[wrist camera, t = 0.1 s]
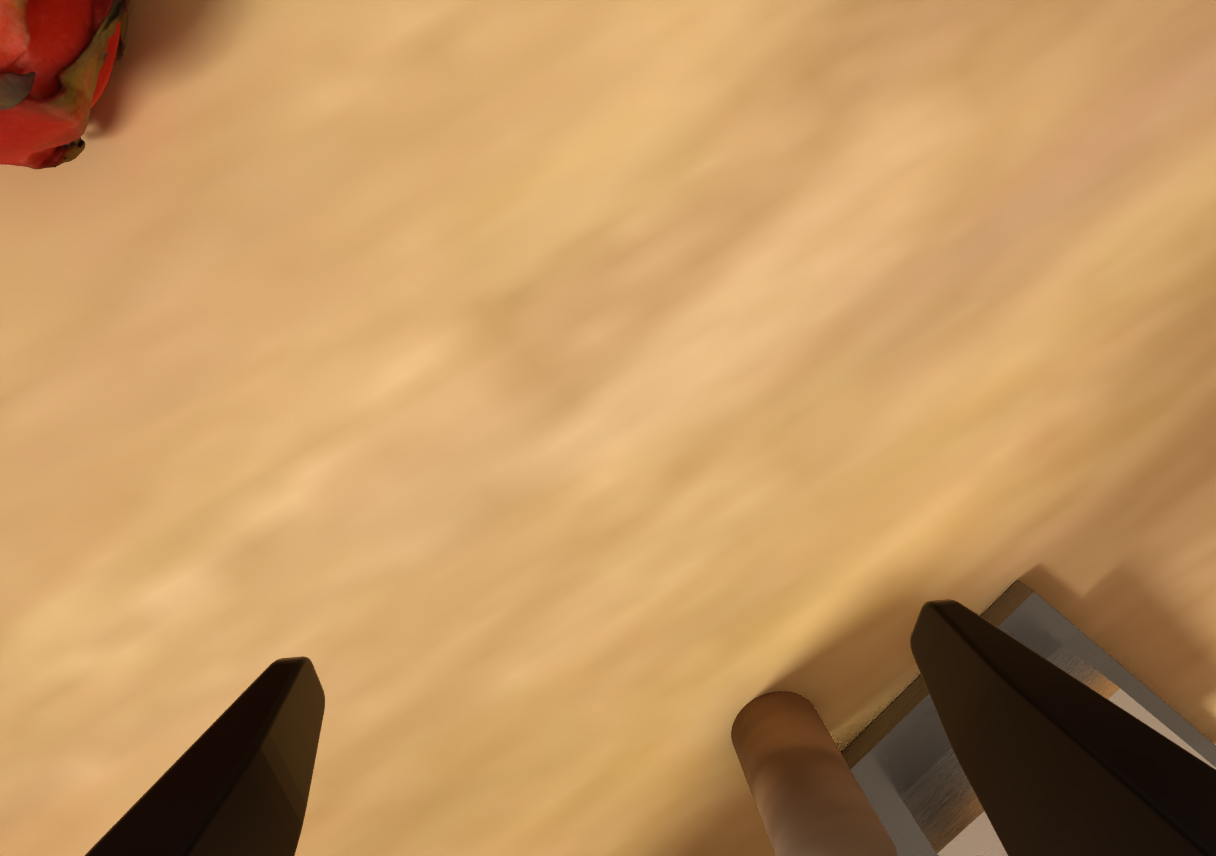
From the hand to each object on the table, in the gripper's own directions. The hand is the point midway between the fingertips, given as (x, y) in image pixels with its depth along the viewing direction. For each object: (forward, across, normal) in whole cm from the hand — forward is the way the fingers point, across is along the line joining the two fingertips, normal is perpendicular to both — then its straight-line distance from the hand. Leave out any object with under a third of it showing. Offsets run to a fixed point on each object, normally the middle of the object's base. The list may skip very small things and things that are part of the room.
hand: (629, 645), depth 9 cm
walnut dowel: (+11, -9, +21) cm, 25 cm away
